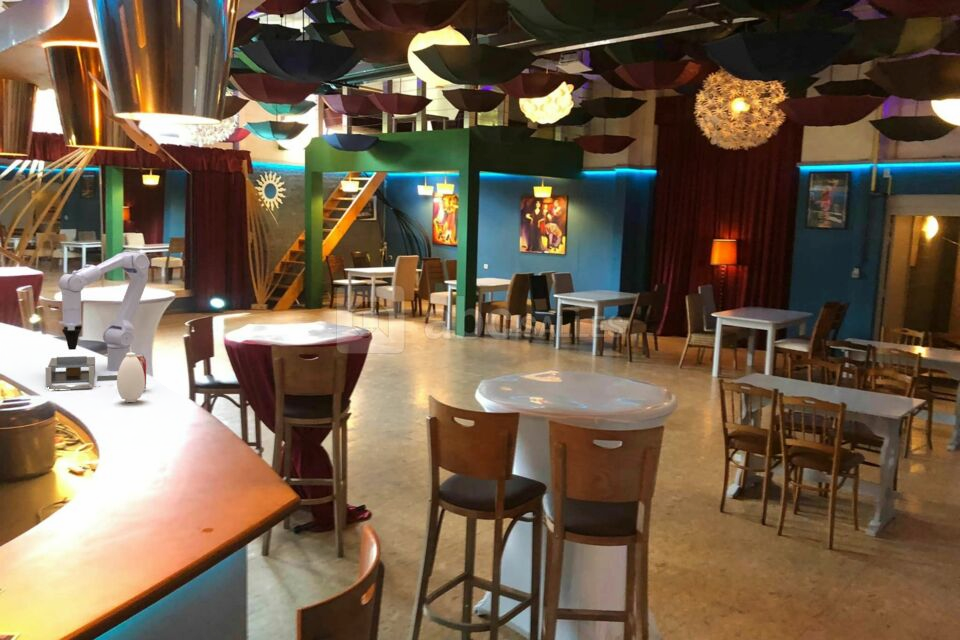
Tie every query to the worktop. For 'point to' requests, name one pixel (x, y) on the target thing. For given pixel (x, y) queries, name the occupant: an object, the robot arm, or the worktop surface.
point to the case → (61, 377)
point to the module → (73, 371)
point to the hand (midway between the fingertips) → (72, 348)
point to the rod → (72, 386)
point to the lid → (71, 362)
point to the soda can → (143, 363)
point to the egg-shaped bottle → (130, 378)
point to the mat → (107, 378)
